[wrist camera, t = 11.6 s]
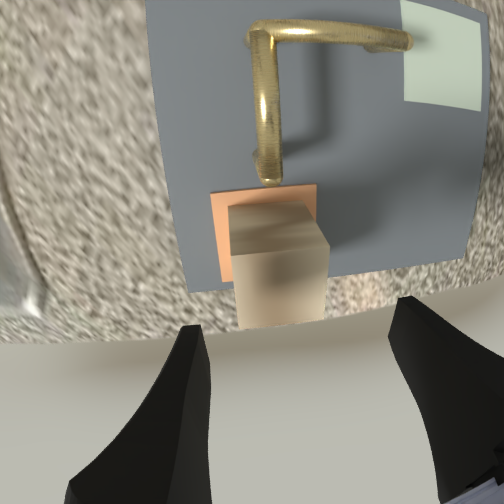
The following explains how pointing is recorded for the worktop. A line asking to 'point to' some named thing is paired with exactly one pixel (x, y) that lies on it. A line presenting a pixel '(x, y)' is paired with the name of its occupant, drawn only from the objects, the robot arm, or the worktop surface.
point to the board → (324, 129)
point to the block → (277, 264)
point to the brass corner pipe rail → (267, 77)
